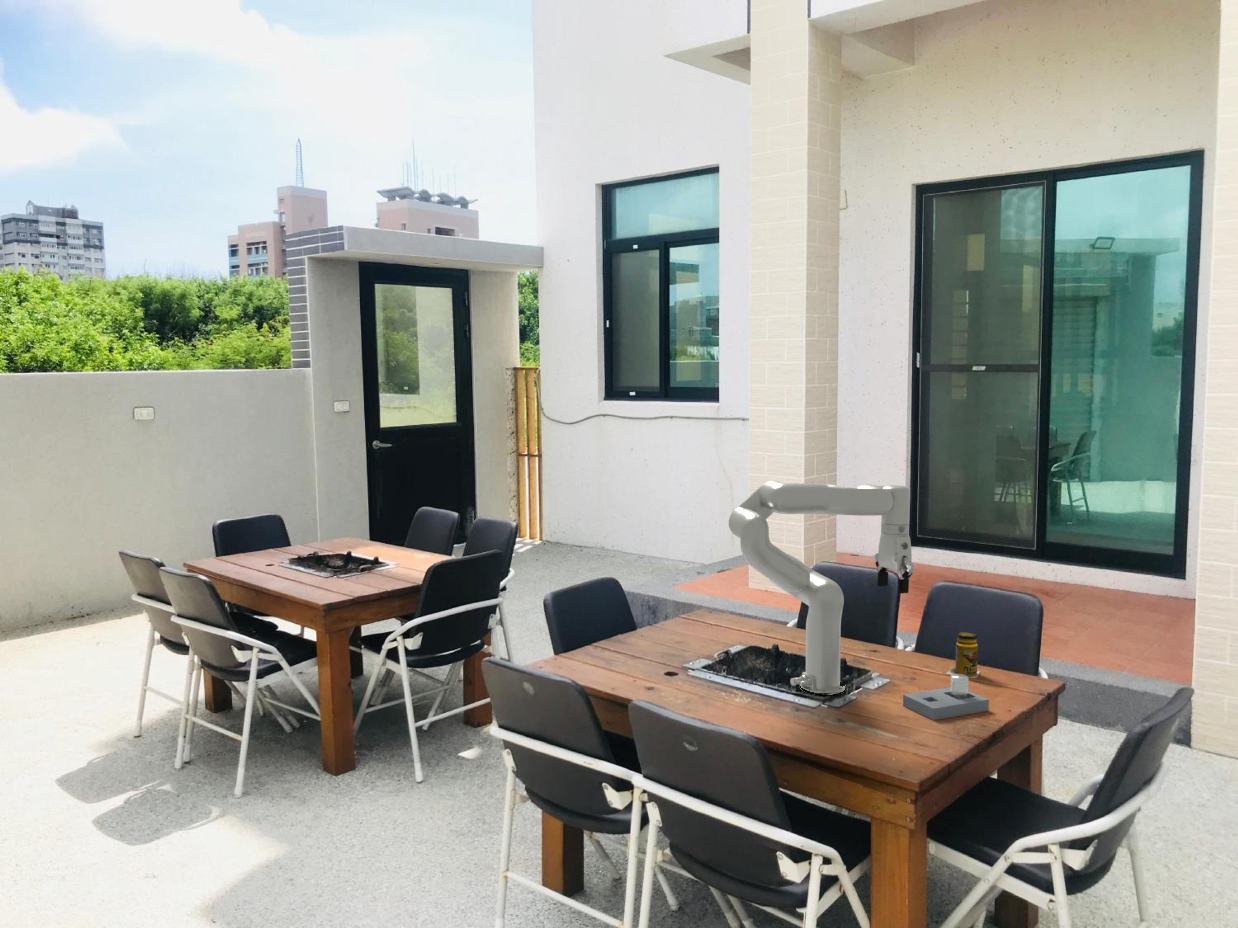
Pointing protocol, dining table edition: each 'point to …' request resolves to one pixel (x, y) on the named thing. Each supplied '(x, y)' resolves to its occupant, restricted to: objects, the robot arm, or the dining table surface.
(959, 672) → the condiment
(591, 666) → the dining table surface
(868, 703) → the dining table surface
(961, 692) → the cylinder
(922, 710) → the grey hole board
